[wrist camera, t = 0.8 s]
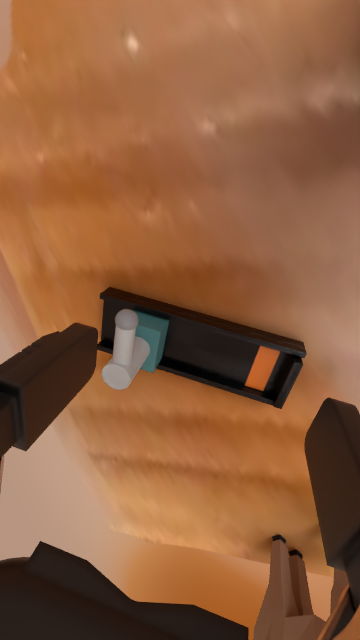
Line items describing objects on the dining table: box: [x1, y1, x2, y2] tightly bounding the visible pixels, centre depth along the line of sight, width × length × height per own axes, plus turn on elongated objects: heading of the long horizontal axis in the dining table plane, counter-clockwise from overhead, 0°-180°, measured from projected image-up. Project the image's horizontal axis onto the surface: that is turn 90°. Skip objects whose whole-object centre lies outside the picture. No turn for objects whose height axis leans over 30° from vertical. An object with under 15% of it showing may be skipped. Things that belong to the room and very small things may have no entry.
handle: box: [102, 309, 169, 390], centre depth 26 cm, size 8×4×8 cm, turn 169°
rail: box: [97, 287, 306, 409], centre depth 30 cm, size 7×21×3 cm, turn 79°
